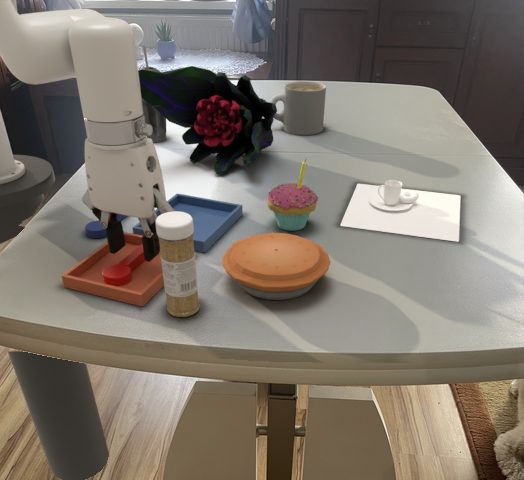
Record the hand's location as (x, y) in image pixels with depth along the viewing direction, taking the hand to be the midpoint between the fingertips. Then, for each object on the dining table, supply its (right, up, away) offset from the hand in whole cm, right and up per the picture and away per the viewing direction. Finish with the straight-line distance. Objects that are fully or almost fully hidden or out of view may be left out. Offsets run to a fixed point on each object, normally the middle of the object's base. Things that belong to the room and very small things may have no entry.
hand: (134, 252), depth 82 cm
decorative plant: (+11, +25, +36) cm, 45 cm away
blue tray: (+7, +7, +13) cm, 16 cm away
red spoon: (-1, -2, 0) cm, 3 cm away
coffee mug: (+28, +41, +56) cm, 75 cm away
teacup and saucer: (+45, +11, +18) cm, 50 cm away
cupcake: (+24, +7, +13) cm, 28 cm away
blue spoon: (-7, +7, +13) cm, 16 cm away
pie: (+21, -4, -1) cm, 22 cm away
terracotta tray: (-1, -3, 0) cm, 3 cm away
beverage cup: (-6, +35, +49) cm, 60 cm away
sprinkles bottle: (+8, -9, -7) cm, 14 cm away
